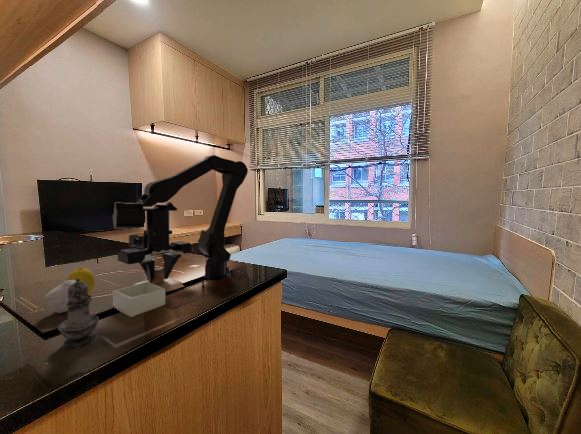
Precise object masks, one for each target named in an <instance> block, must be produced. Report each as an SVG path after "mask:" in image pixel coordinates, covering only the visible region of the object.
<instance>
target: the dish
mask: <svg viewBox="0 0 581 434" xmlns="http://www.w3.org/2000/svg"><path fill="white" fill-rule="evenodd" d="M135 284H136V283H135ZM165 305H166V293H165V288H162V287H160V286H157V285H154V284H152V283H149V282H144V283H140V284H136V285H134V284H133V285H129V286H126V287H123V288H118V289H114V290H112V307H113V306H114V307H115V308H116V309H117V311H119V312H121V313H123V314H124V315H126V316H127V317H130V318H132V317H135V316H139V315H141V314H143V313H147V312H149V311H152V310H154V309H155V310H156V309H157V308H160V307H163V306H165ZM115 308H114V309H115ZM116 309H115V310H116Z"/></svg>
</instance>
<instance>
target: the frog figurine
mask: <svg viewBox="0 0 581 434" xmlns="http://www.w3.org/2000/svg"><path fill="white" fill-rule="evenodd" d="M67 280H68V279H67ZM67 280H64V281H63V282H62V283H61V284H60V285H57V286H56V287H54V288H53V289H50V291H48V292H47V293H46V295H45V296H44V299H45V300H47V302H48V305H49V308H50V310H52V311H53V312H54V313H58V314H64V313H63V312H65V313H68V312H67V311H68V307H67V306H66V303H68V287H69V286H70V285H72V284H73V283H75V282H76V281H75V280H68V281H67Z"/></svg>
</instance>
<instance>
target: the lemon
mask: <svg viewBox="0 0 581 434" xmlns="http://www.w3.org/2000/svg"><path fill="white" fill-rule="evenodd" d="M77 278H79V279H80V280H79V282H84V283H86V284H87V286H88V294H89V293H91V292H92V291H93V289H94V287H95V283H96V280H95V276H94V274H93V271H91V270H89V269H88V268H84V267H81V266H80V267H78V268H77V269H74V270H73V271H72V272H70V274H69V275H68V277H67V280H66V281H68V280H76V279H77Z"/></svg>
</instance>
